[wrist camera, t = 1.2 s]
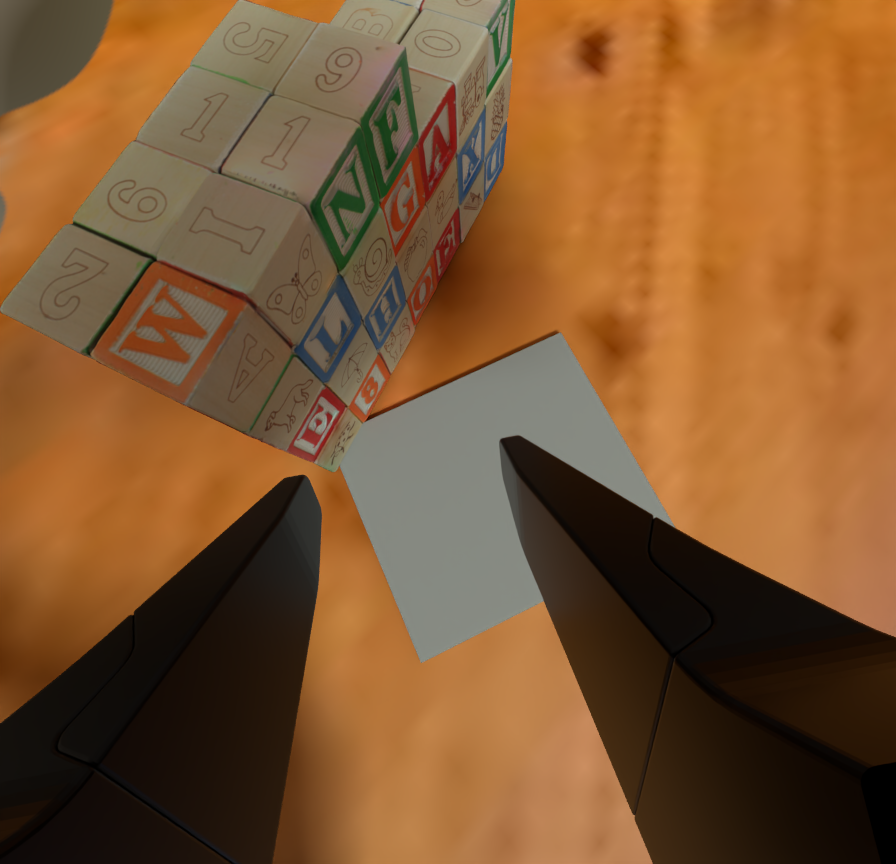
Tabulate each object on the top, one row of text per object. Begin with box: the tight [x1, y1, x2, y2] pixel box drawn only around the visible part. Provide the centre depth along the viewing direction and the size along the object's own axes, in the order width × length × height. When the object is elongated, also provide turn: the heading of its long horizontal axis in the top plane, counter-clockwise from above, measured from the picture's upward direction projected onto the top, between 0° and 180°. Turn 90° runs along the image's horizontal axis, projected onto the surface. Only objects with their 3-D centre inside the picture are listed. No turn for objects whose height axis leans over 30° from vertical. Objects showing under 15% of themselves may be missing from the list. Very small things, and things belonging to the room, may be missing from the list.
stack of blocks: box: [0, 0, 515, 472], centre depth 18 cm, size 21×6×12 cm, turn 154°
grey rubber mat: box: [340, 332, 675, 663], centre depth 22 cm, size 12×14×1 cm
